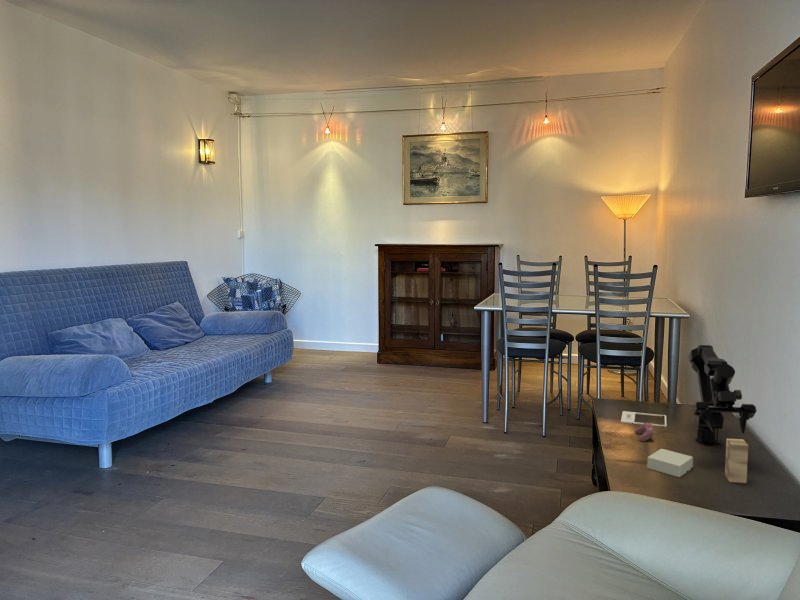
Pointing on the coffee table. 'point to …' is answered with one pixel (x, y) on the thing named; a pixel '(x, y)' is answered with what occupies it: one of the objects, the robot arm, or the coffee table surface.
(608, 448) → the coffee table surface
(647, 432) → the pink lumpy piece
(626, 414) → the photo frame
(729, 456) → the birch block
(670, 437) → the coffee table surface
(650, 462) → the white flat block
